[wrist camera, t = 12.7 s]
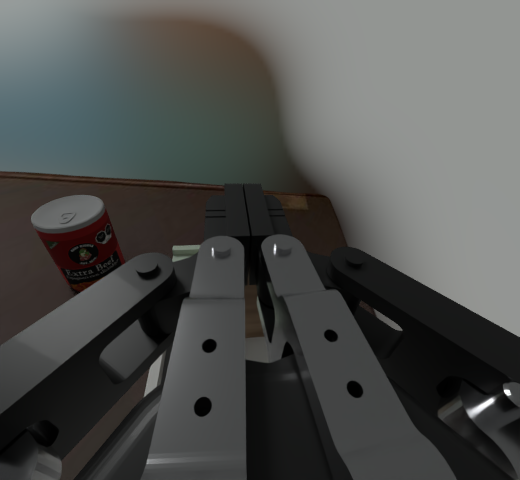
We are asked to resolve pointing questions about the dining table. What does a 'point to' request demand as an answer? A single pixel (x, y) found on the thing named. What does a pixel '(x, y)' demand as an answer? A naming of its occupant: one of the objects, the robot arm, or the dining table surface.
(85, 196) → the canned food
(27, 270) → the dining table surface
